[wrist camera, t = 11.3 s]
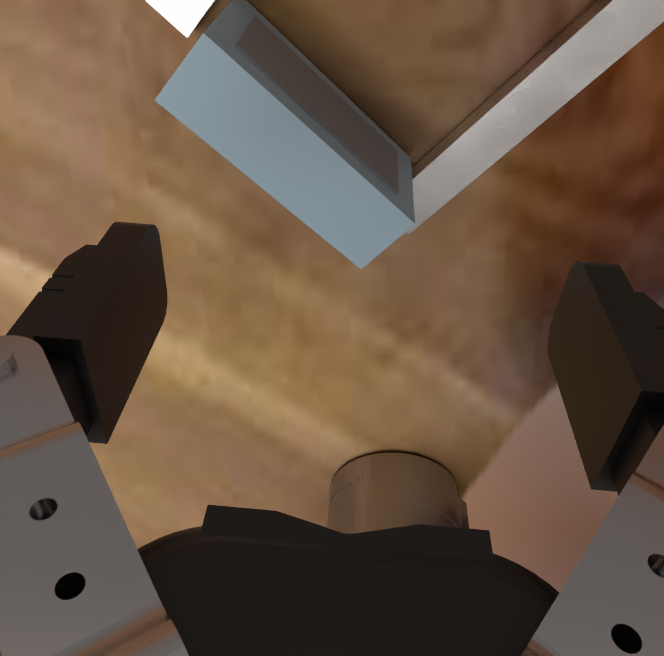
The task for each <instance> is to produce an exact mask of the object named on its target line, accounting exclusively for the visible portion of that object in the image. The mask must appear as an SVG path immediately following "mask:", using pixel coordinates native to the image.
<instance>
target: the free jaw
mask: <svg viewBox="0 0 664 656" xmlns="http://www.w3.org/2000/svg"><path fill="white" fill-rule="evenodd" d="M155 101H156V102H157V103H159V104H160V105H161V106H162V107H163V108H165V109H166V110H167V111H168V112H170V113H171V114H172V115H173V116H174V117H176V118H177V119H178V120H179V121H181V122H182V123H183V124H184V125H185V126H187V127H188V128H189V129H190V130H192V131H193V132H194V133H195V134H196V135H198V136H199V137H200V138H201V139H203V140H204V141H205V142H206V143H207V144H209V145H210V146H211V147H212V148H213V149H215V150H216V151H217V152H218V153H220V154H221V155H222V156H223V157H224V158H226V159H227V160H228V161H229V162H231V163H232V164H233V165H234V166H235V167H237V168H238V169H239V170H240V171H242V172H243V173H244V174H245V175H246V176H248V177H249V178H250V179H251V180H253V181H254V182H255V183H256V184H257V185H259V186H260V187H261V188H262V189H264V190H265V191H266V192H267V193H268V194H270V195H271V196H272V197H273V198H274V199H276V200H277V201H278V202H279V203H281V204H282V205H283V206H284V207H285V208H287V209H288V210H289V211H290V212H292V213H293V214H294V215H295V216H296V217H298V218H299V219H300V220H301V221H303V222H304V223H305V224H306V225H307V226H309V227H310V228H311V229H312V230H314V231H315V232H316V233H317V234H318V235H320V236H321V237H322V238H323V239H324V240H326V241H327V242H328V243H329V244H331V245H332V246H333V247H334V248H335V249H337V250H338V251H339V252H340V253H342V254H343V255H344V256H345V257H346V258H348V259H349V260H350V261H351V262H353V263H354V264H355V265H356V266H357V267H359V268H360V269H362V268H363V267H365V266H366V265H367V264H368V263H369V262H371V261H372V260H373V259H374V258H375V257H377V256H378V255H379V254H380V253H381V252H382V251H384V250H385V249H386V248H387V247H388V246H390V245H391V244H392V243H393V242H394V241H396V240H397V239H398V238H399V237H400V236H401V235H403V234H404V233H405V232H406V231H407V230H409V229H410V228H411V227H412V226H413V225H415V214H414V198H413V183H412V167H411V158H410V157H409V156H408V155H407V154H406V153H405V152H404V151H403V150H402V149H401V148H400V147H399V146H398V145H397V144H396V143H395V142H394V141H393V140H392V139H391V138H390V137H389V136H387V135H386V134H385V133H384V132H383V131H382V130H381V129H380V128H379V127H378V126H377V125H376V124H375V123H374V122H373V121H372V120H371V119H370V118H369V117H368V116H367V115H366V114H365V113H364V112H362V111H361V110H360V109H359V108H358V107H357V106H356V105H355V104H354V103H353V102H352V101H351V100H350V99H349V98H348V97H347V96H346V95H345V94H344V93H343V92H342V91H341V90H340V89H339V88H337V87H336V86H335V85H334V84H333V83H332V82H331V81H330V80H329V79H328V78H327V77H326V76H325V75H324V74H323V73H322V72H321V71H320V70H319V69H318V68H317V67H316V66H315V65H314V64H312V63H311V62H310V61H309V60H308V59H307V58H306V57H305V56H304V55H303V54H302V53H301V52H300V51H299V50H298V49H297V48H296V47H295V46H294V45H293V44H292V43H291V42H290V41H289V40H287V39H286V38H285V37H284V36H283V35H282V34H281V33H280V32H279V31H278V30H277V29H276V28H275V27H274V26H273V25H272V24H271V23H270V22H269V21H268V20H267V19H266V18H265V17H263V16H262V15H261V14H260V13H259V12H258V11H257V10H256V9H255V8H254V7H253V6H252V5H251V4H250V3H249V2H248V1H247V0H231V1H230V2H229V3H228V5H227V6H226V7H225V8H224V9H223V10H222V12H221V13H220V14H219V15H218V16H217V17H216V19H215V20H214V21H213V22H212V23H211V24H210V26H209V27H208V28H207V29H206V30H205V31H204V33H203V34H202V35H201V37H200V38H199V39H198V41H197V42H196V44H195V45H194V46H193V48H192V49H191V50H190V52H189V53H188V55H187V56H186V57H185V59H184V60H183V62H182V63H181V64H180V66H179V67H178V68H177V70H176V71H175V73H174V74H173V75H172V77H171V78H170V79H169V81H168V82H167V84H166V85H165V86H164V88H163V89H162V91H161V92H160V93H159V95H158V96H157V97H156V99H155Z"/></svg>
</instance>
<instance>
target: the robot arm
mask: <svg viewBox="0 0 664 656" xmlns="http://www.w3.org/2000/svg"><path fill="white" fill-rule="evenodd" d="M166 309H167V287H166V280H165V273H164V265H163V258H162V250H161V243H160V236H159V232H158V229H157V227H156V226H155V225H150V224H138V223H126V222H114V223H113V224H112V225H111V227H110V228H109V230H108V231H107V232H106V234H105V235H104V237H103V238H102V239H101V241H100V242H99V244H98V245H97V246H96V245H85V246H84V247H82V248H80V249H79V250H77V251H76V252H74V253H72V254H71V255H69V256H68V257H66V258H65V259H64V260H63V261H62V262H61V264H60V265H59V266H58V268H57V269H56V270H55V272H54V273H53V274H52V278H49V279H48V281H47V282H46V283H45V285H44V286H43V287H42V292H38V294H37V295H36V296H35V298H34V299H33V300H32V302H31V303H30V304H29V305H28V307H27V308H26V309H25V311H24V312H23V313H22V315H21V316H20V317H19V319H18V320H17V321H16V322H15V324H14V325H13V326H12V328H11V329H10V330H9V332H8V333H7V334H6V335H5V336H0V650H1V654H2V656H664V309H662V308H661V307H660V306H659V305H658V304H656V303H655V302H654V301H653V300H652V299H650V298H649V297H648V296H647V295H646V294H644V293H641V292H634V290H633V288H632V287H631V285H630V283H629V281H628V279H627V277H626V276H625V274H624V272H623V270H622V269H621V267H620V266H619V265H617V264H605V263H593V262H581V261H577V262H575V263H574V264H573V266H572V267H571V269H570V272H569V274H568V277H567V280H566V283H565V286H564V288H563V291H562V294H561V297H560V300H559V303H558V305H557V308H556V311H555V314H554V317H553V320H552V322H551V326H550V329H549V335H548V353H549V358H550V361H551V364H552V367H553V370H554V374H555V377H556V380H557V383H558V386H559V389H560V392H561V396H562V399H563V402H564V405H565V408H566V411H567V414H568V418H569V421H570V424H571V427H572V430H573V433H574V437H575V440H576V443H577V446H578V449H579V452H580V455H581V458H582V462H583V465H584V468H585V471H586V474H587V477H588V480H589V484H590V487H591V489H596V490H606V491H617V492H618V495H619V497H618V498H617V500H616V501H615V503H614V505H613V506H612V508H611V510H610V512H609V513H608V515H607V516H606V518H605V519H604V521H603V523H602V524H601V526H600V528H599V529H598V531H597V532H596V534H595V536H594V537H593V539H592V541H591V542H590V544H589V546H588V547H587V549H586V550H585V552H584V554H583V555H582V557H581V559H580V560H579V562H578V564H577V565H576V567H575V569H574V570H573V572H572V574H571V575H570V577H569V578H568V580H567V582H566V583H565V585H564V586H563V588H562V590H561V591H560V593H559V592H558V591H557V590H556V589H554V588H553V587H552V586H551V585H550V584H548V583H547V582H546V581H544V580H543V579H541V578H540V577H538V576H537V575H536V574H535V573H533V572H531V571H529V570H528V569H526V568H524V567H522V566H521V565H519V564H517V563H515V562H513V561H510V560H508V559H506V558H504V557H502V556H498V555H496V554H493V552H492V546H491V539H490V532H489V530H478V529H477V530H476V529H469V524H468V515H467V507H466V503H465V502H464V501H462V500H461V499H460V498H459V497H458V492H457V485H456V483H455V481H454V479H453V477H452V476H451V475H450V474H449V472H448V471H447V470H446V469H444V468H443V467H441V466H440V465H439V464H437V463H435V462H433V461H431V460H428V459H426V458H423V457H420V456H416V455H412V454H405V453H379V454H372V455H368V456H365V457H361V458H358V459H356V460H354V461H352V462H350V463H348V464H346V465H345V466H344V467H343V468H341V469H340V470H339V471H338V472H337V474H336V475H335V476H334V478H333V481H332V483H331V489H330V500H329V512H328V523H327V528H326V527H323V526H320V525H317V524H314V523H311V522H308V521H305V520H302V519H299V518H296V517H293V516H290V515H287V514H284V513H281V512H278V511H270V510H260V509H249V508H238V507H227V506H216V505H208V506H207V510H206V514H205V518H204V521H203V525H202V526H201V527H194V528H189V529H185V530H182V531H178V532H174V533H172V534H169V535H166V536H163V537H161V538H158V539H156V540H154V541H152V542H150V543H148V544H146V545H144V546H142V547H141V548H139V549H137V548H136V546H135V543H134V541H133V539H132V537H131V535H130V532H129V530H128V528H127V526H126V523H125V521H124V519H123V517H122V515H121V512H120V510H119V508H118V506H117V504H116V501H115V499H114V497H113V495H112V493H111V490H110V488H109V486H108V484H107V481H106V479H105V477H104V475H103V473H102V470H101V468H100V466H99V464H98V462H97V459H96V457H95V455H94V453H93V450H92V448H91V446H90V444H89V442H93V443H104V444H107V443H108V441H109V439H110V437H111V435H112V432H113V430H114V428H115V426H116V424H117V421H118V419H119V417H120V415H121V413H122V411H123V408H124V406H125V404H126V402H127V400H128V398H129V395H130V393H131V391H132V389H133V387H134V385H135V382H136V380H137V378H138V376H139V374H140V372H141V369H142V367H143V365H144V363H145V361H146V359H147V356H148V354H149V352H150V350H151V348H152V346H153V343H154V341H155V339H156V337H157V335H158V333H159V330H160V328H161V326H162V324H163V321H164V318H165V315H166Z"/></svg>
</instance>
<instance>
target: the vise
mask: <svg viewBox="0 0 664 656" xmlns="http://www.w3.org/2000/svg"><path fill="white" fill-rule="evenodd" d="M145 1H146V2H147V3H148V4H150V5H151V6H152V7H153V8H154V9H155V10H156V11H157V12H159V13H160V14H161V15H162V16H163V17H164V18H165V19H166V20H168V21H169V22H170V23H171V24H172V25H173V26H174V27H175V28H177V29H178V30H179V31H180V32H181V33H182V34H183V35H184V36H186V37H187V38H188V37H189V36H190V35H191V33H192V32H193V31H194V30H195V29H196V27H197V26H198V25H199V23H200V22H201V20H202V19H203V18H204V16H205V15H206V13H207V12H208V11H209V9H210V8H211V6H212V5H213V4H214V2H215V1H216V0H145ZM662 22H664V0H596V1H595V2H594V3H593V4H592V5H591V6H590V7H588V8H587V9H586V10H585V11H584V12H583V13H582V14H581V15H580V16H579V17H577V18H576V19H575V20H574V21H573V22H572V23H571V24H570V25H569V26H568V27H566V28H565V29H564V30H563V31H562V32H561V33H560V34H559V35H558V36H557V37H555V38H554V39H553V40H552V41H551V42H550V43H549V44H548V45H547V46H546V47H544V48H543V49H542V50H541V51H540V52H539V53H538V54H537V55H536V56H535V57H533V58H532V59H531V60H530V61H529V62H528V63H527V64H526V65H525V66H524V67H522V68H521V69H520V70H519V71H518V72H517V73H516V74H515V75H514V76H513V77H511V78H510V79H509V80H508V81H507V82H506V83H505V84H504V85H503V86H502V87H500V88H499V89H498V90H497V91H496V92H495V93H494V94H493V95H492V96H491V97H489V98H488V99H487V100H486V101H485V102H484V103H483V104H482V105H481V106H480V107H478V108H477V109H476V110H475V111H474V112H473V113H472V114H471V115H470V116H469V117H467V118H466V119H465V120H464V121H463V122H462V123H461V124H460V125H459V126H457V127H456V128H455V129H454V130H453V131H452V132H451V133H450V134H449V135H448V136H446V137H445V138H444V139H443V140H442V141H441V142H440V143H439V144H438V145H437V146H435V147H434V148H433V149H432V150H431V151H430V152H429V153H428V154H427V155H426V156H424V157H423V158H422V159H421V160H420V161H419V162H418V163H417V164H416V165H415V166H413V167H412V183H413V198H414V214H415V225H413V226H412V227H411V228H410V229H409V230H407V231H406V233H408V234H410V233H411V232H413V231H414V230H415V229H416V228H417V227H419V226H420V225H421V224H422V223H423V222H425V221H426V220H427V219H428V218H429V217H431V216H432V215H433V214H434V213H435V212H437V211H438V210H439V209H440V208H441V207H442V206H444V205H445V204H446V203H447V202H448V201H450V200H451V199H452V198H453V197H454V196H456V195H457V194H458V193H459V192H460V191H462V190H463V189H464V188H465V187H466V186H468V185H469V184H470V183H471V182H472V181H474V180H475V179H476V178H477V177H478V176H480V175H481V174H482V173H483V172H484V171H486V170H487V169H488V168H489V167H490V166H491V165H493V164H494V163H495V162H496V161H497V160H499V159H500V158H501V157H502V156H503V155H505V154H506V153H507V152H508V151H509V150H511V149H512V148H513V147H514V146H515V145H517V144H518V143H519V142H520V141H521V140H523V139H524V138H525V137H526V136H527V135H529V134H530V133H531V132H532V131H533V130H535V129H536V128H537V127H538V126H539V125H540V124H542V123H543V122H544V121H545V120H546V119H548V118H549V117H550V116H551V115H552V114H554V113H555V112H556V111H557V110H558V109H560V108H561V107H562V106H563V105H564V104H566V103H567V102H568V101H569V100H570V99H572V98H573V97H574V96H575V95H576V94H578V93H579V92H580V91H581V90H582V89H584V88H585V87H586V86H587V85H588V84H589V83H591V82H592V81H593V80H594V79H595V78H597V77H598V76H599V75H600V74H601V73H603V72H604V71H605V70H606V69H607V68H609V67H610V66H611V65H612V64H613V63H615V62H616V61H617V60H618V59H619V58H621V57H622V56H623V55H624V54H625V53H627V52H628V51H629V50H630V49H631V48H633V47H634V46H635V45H636V44H637V43H638V42H640V41H641V40H642V39H643V38H644V37H646V36H647V35H648V34H649V33H650V32H652V31H653V30H654V29H655V28H656V27H658V26H659V25H660V24H661V23H662Z"/></svg>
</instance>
